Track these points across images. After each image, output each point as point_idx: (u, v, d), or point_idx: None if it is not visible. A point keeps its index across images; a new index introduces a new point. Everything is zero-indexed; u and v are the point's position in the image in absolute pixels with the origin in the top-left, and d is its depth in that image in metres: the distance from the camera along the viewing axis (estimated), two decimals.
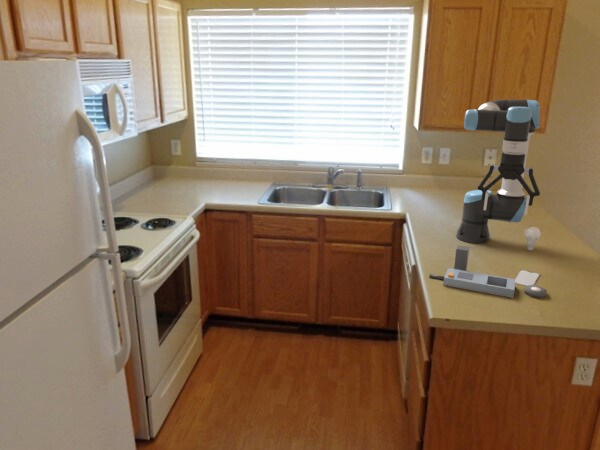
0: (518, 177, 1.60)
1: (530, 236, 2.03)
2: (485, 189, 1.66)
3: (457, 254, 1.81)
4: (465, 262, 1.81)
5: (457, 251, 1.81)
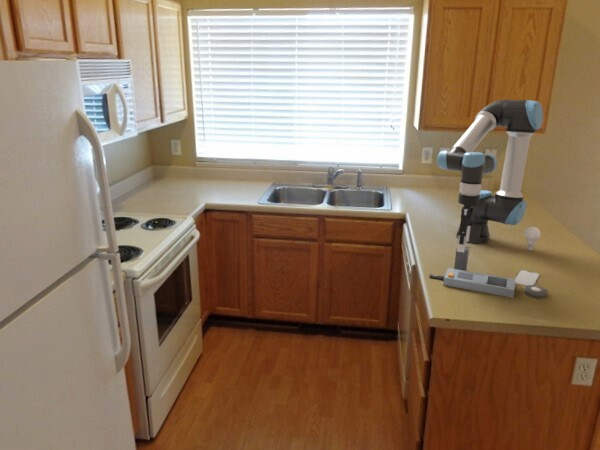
0: (461, 215, 1.76)
1: (530, 236, 2.03)
2: None
3: (457, 254, 1.81)
4: (465, 262, 1.81)
5: None
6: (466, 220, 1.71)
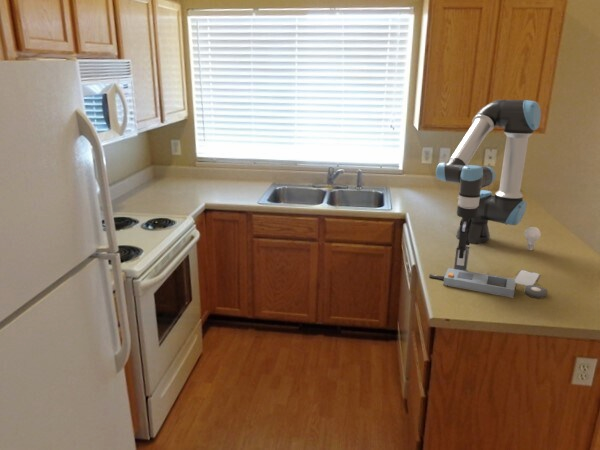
0: None
1: (530, 236, 2.03)
2: None
3: (457, 254, 1.81)
4: (465, 262, 1.81)
5: (457, 251, 1.81)
6: (465, 236, 1.75)
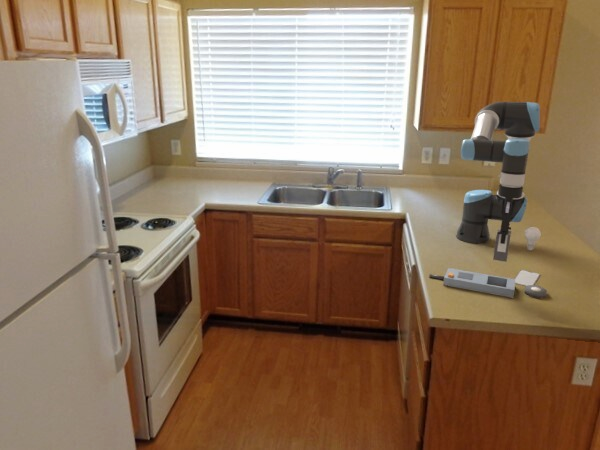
0: (501, 209, 1.60)
1: (530, 236, 2.03)
2: None
3: (498, 239, 1.62)
4: (507, 248, 1.62)
5: (498, 236, 1.62)
6: (508, 218, 1.56)
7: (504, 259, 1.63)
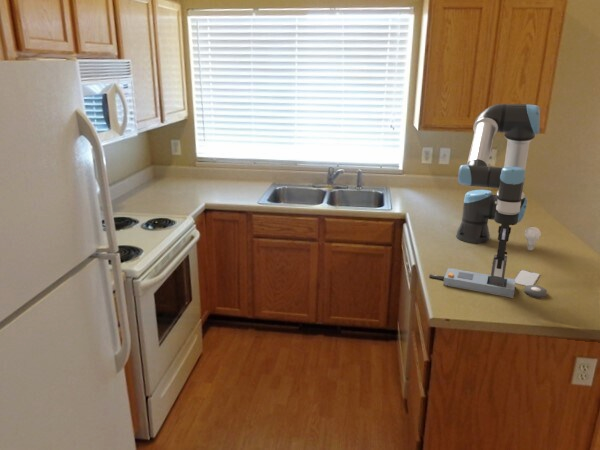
0: (498, 235, 1.63)
1: (530, 236, 2.03)
2: None
3: (494, 264, 1.65)
4: (503, 273, 1.65)
5: (494, 261, 1.65)
6: (504, 245, 1.58)
7: (500, 283, 1.66)
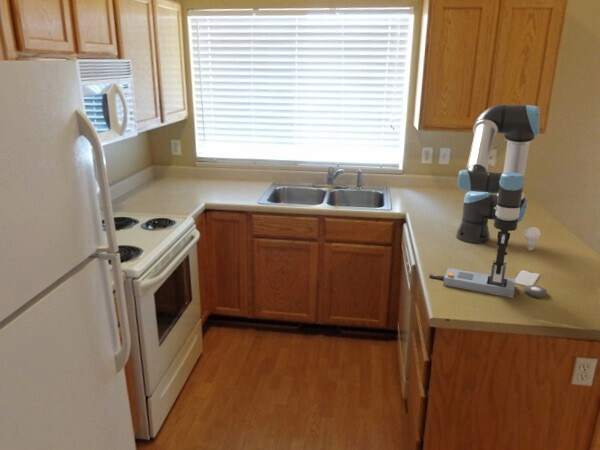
0: (497, 241, 1.63)
1: (530, 236, 2.03)
2: None
3: (493, 270, 1.66)
4: (502, 279, 1.66)
5: (493, 267, 1.66)
6: (504, 249, 1.58)
7: None
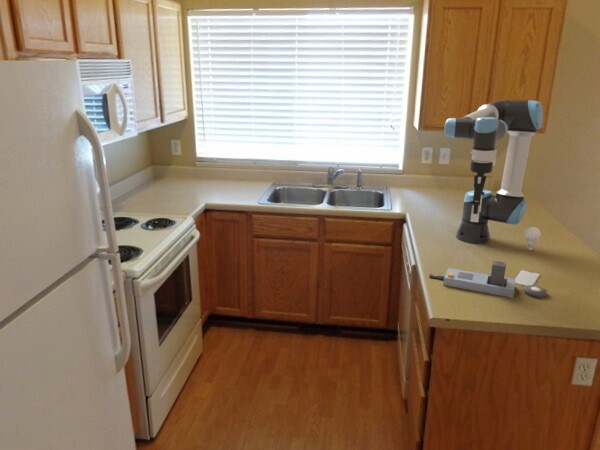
0: (474, 183, 1.69)
1: (530, 236, 2.03)
2: None
3: (493, 270, 1.66)
4: (502, 279, 1.66)
5: (493, 267, 1.66)
6: (480, 188, 1.64)
7: None
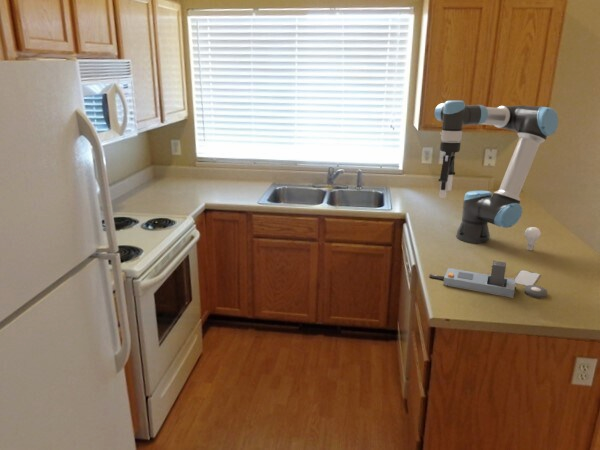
0: None
1: (530, 236, 2.03)
2: None
3: (493, 270, 1.66)
4: (502, 279, 1.66)
5: (493, 267, 1.66)
6: (447, 166, 1.77)
7: None
